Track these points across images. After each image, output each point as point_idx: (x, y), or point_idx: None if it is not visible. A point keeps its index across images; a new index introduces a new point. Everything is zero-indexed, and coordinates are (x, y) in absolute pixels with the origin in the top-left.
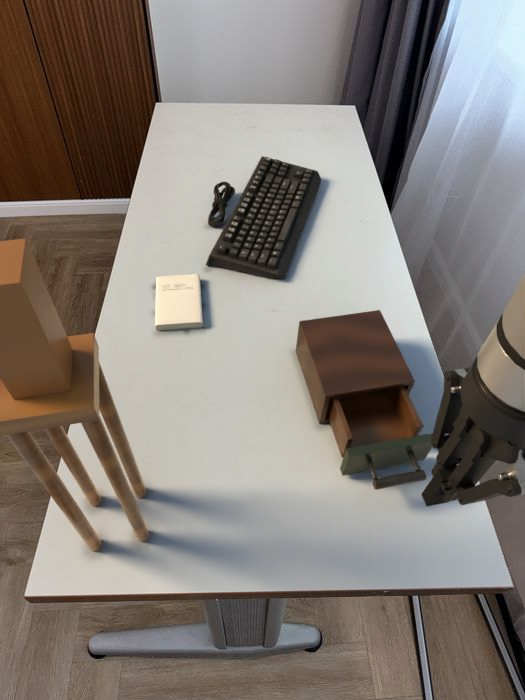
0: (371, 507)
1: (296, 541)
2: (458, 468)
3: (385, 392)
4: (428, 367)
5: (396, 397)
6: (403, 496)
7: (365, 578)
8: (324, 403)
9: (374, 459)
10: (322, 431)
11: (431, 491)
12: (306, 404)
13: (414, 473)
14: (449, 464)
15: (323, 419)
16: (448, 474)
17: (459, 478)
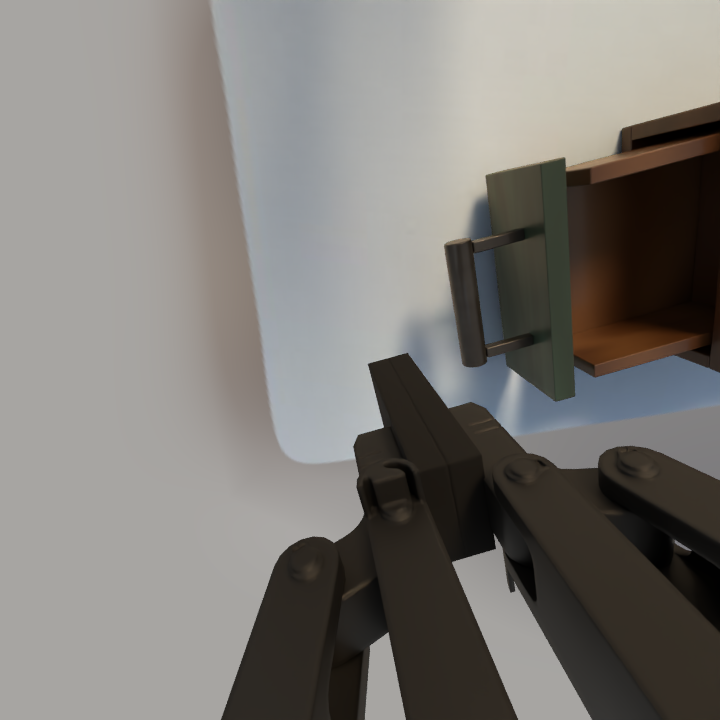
0: (411, 243)
1: (327, 37)
2: (473, 672)
3: (675, 300)
4: (700, 397)
5: (668, 323)
6: (433, 314)
7: (258, 213)
8: (710, 107)
9: (521, 249)
10: (600, 136)
11: (401, 392)
12: (680, 95)
13: (478, 342)
14: (502, 517)
15: (636, 134)
16: (453, 494)
17: (402, 634)
